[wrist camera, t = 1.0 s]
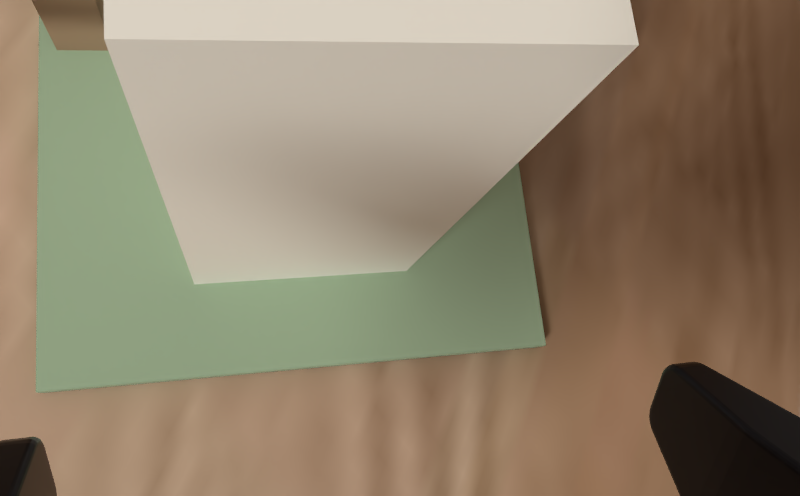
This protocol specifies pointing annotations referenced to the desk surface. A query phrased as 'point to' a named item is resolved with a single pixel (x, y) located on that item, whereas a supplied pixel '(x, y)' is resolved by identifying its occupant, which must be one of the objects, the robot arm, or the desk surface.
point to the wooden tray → (74, 23)
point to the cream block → (345, 117)
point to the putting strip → (234, 301)
